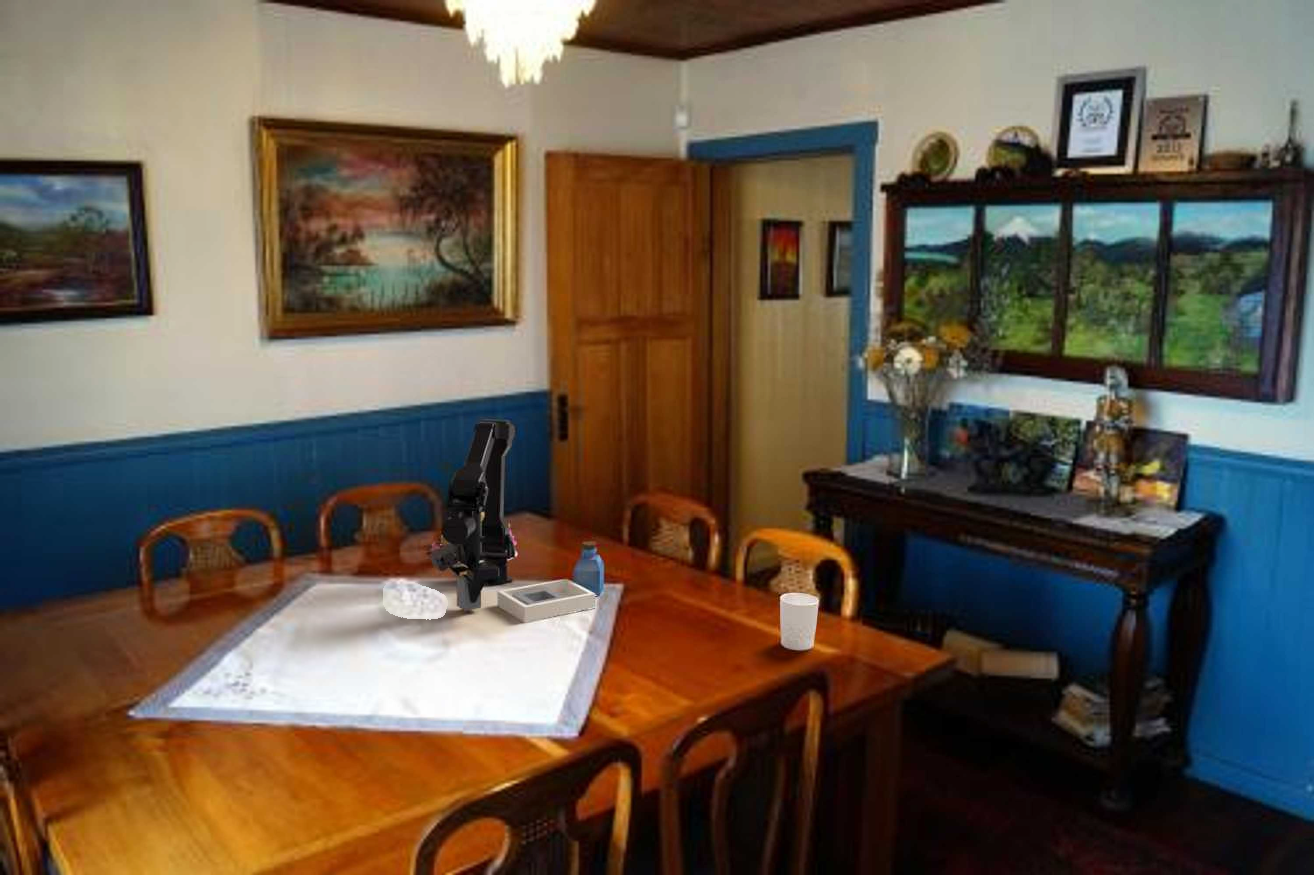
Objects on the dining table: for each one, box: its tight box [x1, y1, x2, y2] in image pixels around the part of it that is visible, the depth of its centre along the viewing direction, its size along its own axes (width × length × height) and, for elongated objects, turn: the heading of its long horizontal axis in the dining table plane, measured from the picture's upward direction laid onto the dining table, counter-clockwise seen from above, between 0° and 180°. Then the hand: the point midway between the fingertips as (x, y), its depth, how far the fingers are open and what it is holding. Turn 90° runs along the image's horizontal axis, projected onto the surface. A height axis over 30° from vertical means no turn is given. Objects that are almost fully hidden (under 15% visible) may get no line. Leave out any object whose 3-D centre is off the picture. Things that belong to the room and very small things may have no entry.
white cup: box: [779, 592, 820, 651], centre depth 218 cm, size 8×8×10 cm
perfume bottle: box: [573, 540, 605, 597], centre depth 249 cm, size 6×6×12 cm
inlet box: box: [496, 578, 596, 624], centre depth 238 cm, size 13×18×4 cm
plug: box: [456, 571, 482, 612], centre depth 234 cm, size 4×4×8 cm
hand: (468, 599), depth 234 cm, fingers closed on plug, 4 cm apart
